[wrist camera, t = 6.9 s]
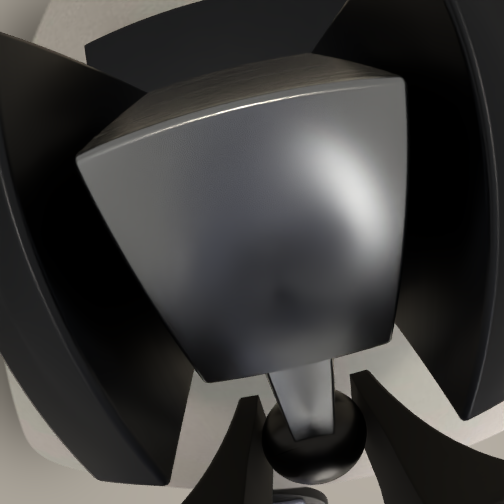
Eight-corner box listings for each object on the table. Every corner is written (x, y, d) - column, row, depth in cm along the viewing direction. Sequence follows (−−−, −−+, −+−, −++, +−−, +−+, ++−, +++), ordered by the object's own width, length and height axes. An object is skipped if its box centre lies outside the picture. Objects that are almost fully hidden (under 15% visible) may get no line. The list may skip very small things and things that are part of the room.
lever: (351, 399, 10) (371, 476, 8) (266, 418, 11) (276, 497, 8) (338, 47, 4) (505, 90, 1) (120, 100, 4) (-12, 215, 1)
